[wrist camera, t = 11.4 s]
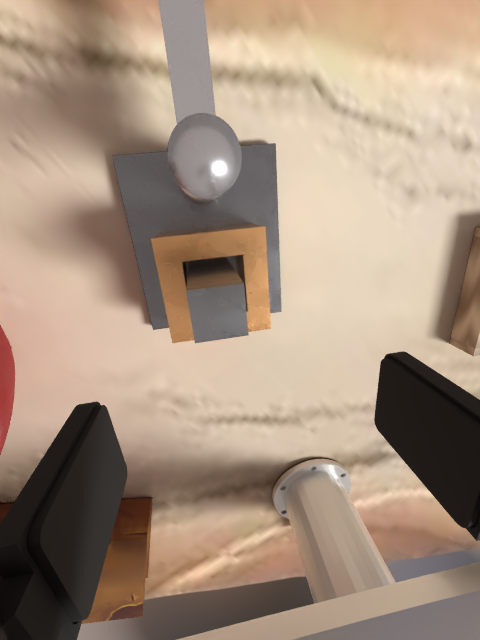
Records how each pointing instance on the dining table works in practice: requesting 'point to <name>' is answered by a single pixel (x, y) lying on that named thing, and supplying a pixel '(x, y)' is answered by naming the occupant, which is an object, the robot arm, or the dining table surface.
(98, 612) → the diary
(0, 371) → the mixing bowl
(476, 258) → the wooden tray
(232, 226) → the grey stepped fixture
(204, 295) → the grey rectangular block
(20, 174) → the dining table surface
